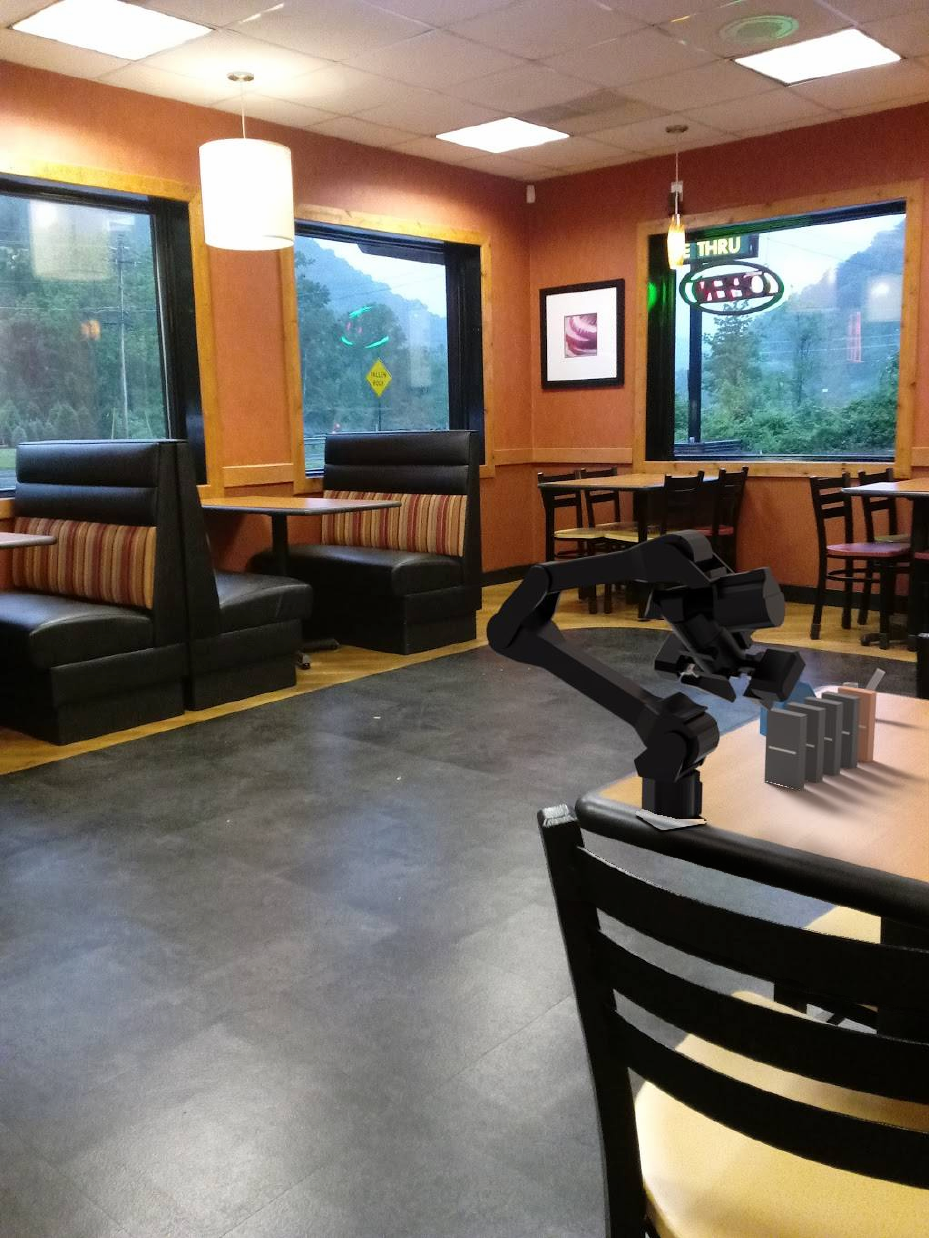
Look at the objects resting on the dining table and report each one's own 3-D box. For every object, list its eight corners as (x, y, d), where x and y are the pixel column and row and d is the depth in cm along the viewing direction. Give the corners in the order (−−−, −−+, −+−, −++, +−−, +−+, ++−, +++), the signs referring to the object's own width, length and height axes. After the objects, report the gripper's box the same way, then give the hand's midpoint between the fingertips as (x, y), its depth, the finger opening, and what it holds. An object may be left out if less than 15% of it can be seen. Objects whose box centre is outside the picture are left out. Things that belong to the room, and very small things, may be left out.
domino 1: (797, 790, 139) (800, 716, 137) (764, 781, 143) (766, 709, 141) (804, 788, 140) (807, 714, 138) (771, 779, 144) (773, 707, 142)
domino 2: (815, 783, 142) (819, 710, 140) (783, 774, 146) (785, 703, 144) (822, 780, 143) (825, 708, 141) (789, 772, 147) (792, 701, 145)
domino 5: (867, 762, 151) (870, 693, 149) (834, 754, 154) (838, 687, 153) (873, 759, 152) (876, 691, 150) (840, 752, 155) (844, 685, 154)
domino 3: (833, 775, 145) (837, 704, 143) (801, 767, 149) (803, 698, 147) (840, 773, 146) (843, 702, 144) (807, 765, 150) (810, 696, 148)
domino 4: (850, 768, 148) (854, 699, 146) (818, 761, 151) (821, 692, 150) (856, 766, 149) (860, 697, 147) (824, 758, 153) (827, 691, 151)
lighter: (836, 713, 177) (838, 666, 175) (837, 711, 178) (840, 664, 177) (881, 718, 174) (884, 670, 172) (882, 715, 175) (885, 668, 174)
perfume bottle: (781, 744, 160) (784, 666, 158) (759, 733, 166) (762, 658, 164) (817, 740, 162) (820, 663, 160) (794, 730, 167) (797, 655, 165)
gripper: (800, 583, 121) (846, 663, 130) (669, 569, 135) (718, 643, 144) (758, 661, 117) (808, 738, 126) (627, 638, 131) (681, 709, 140)
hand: (752, 703), depth 134 cm, fingers open, 5 cm apart
